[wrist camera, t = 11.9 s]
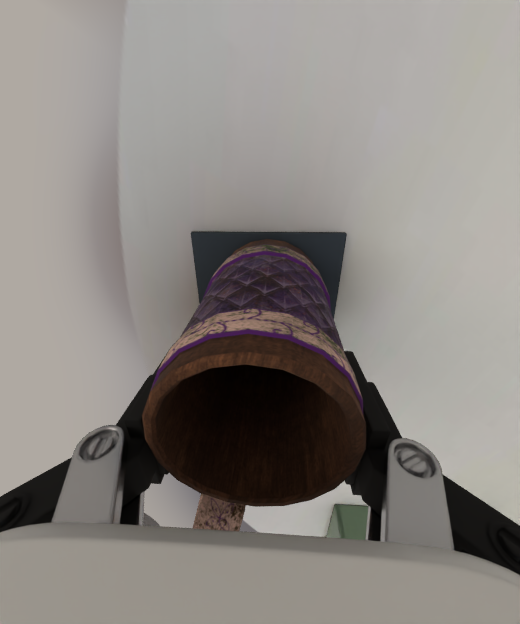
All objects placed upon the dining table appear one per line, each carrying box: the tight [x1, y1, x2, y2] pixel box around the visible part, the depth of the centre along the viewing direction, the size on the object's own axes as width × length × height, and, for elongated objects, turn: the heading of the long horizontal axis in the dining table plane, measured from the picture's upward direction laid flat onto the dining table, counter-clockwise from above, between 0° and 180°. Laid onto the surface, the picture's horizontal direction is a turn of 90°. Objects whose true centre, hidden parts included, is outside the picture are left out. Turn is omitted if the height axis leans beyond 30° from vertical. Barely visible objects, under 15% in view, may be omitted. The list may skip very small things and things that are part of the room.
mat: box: [191, 232, 347, 320], centre depth 18 cm, size 10×10×1 cm
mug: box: [142, 239, 366, 531], centre depth 12 cm, size 10×7×12 cm
